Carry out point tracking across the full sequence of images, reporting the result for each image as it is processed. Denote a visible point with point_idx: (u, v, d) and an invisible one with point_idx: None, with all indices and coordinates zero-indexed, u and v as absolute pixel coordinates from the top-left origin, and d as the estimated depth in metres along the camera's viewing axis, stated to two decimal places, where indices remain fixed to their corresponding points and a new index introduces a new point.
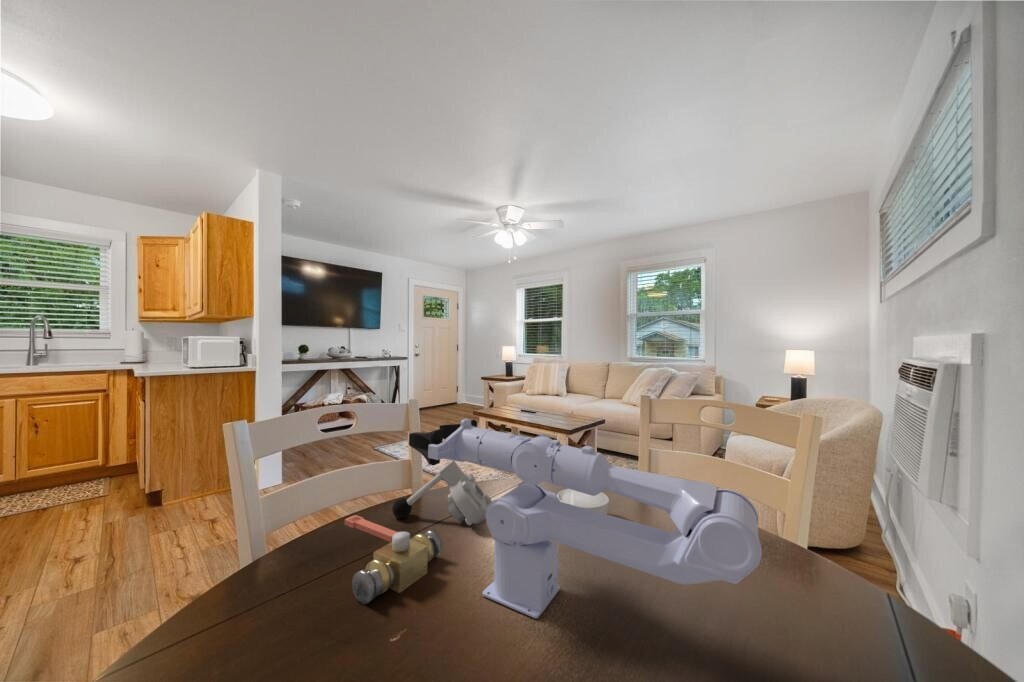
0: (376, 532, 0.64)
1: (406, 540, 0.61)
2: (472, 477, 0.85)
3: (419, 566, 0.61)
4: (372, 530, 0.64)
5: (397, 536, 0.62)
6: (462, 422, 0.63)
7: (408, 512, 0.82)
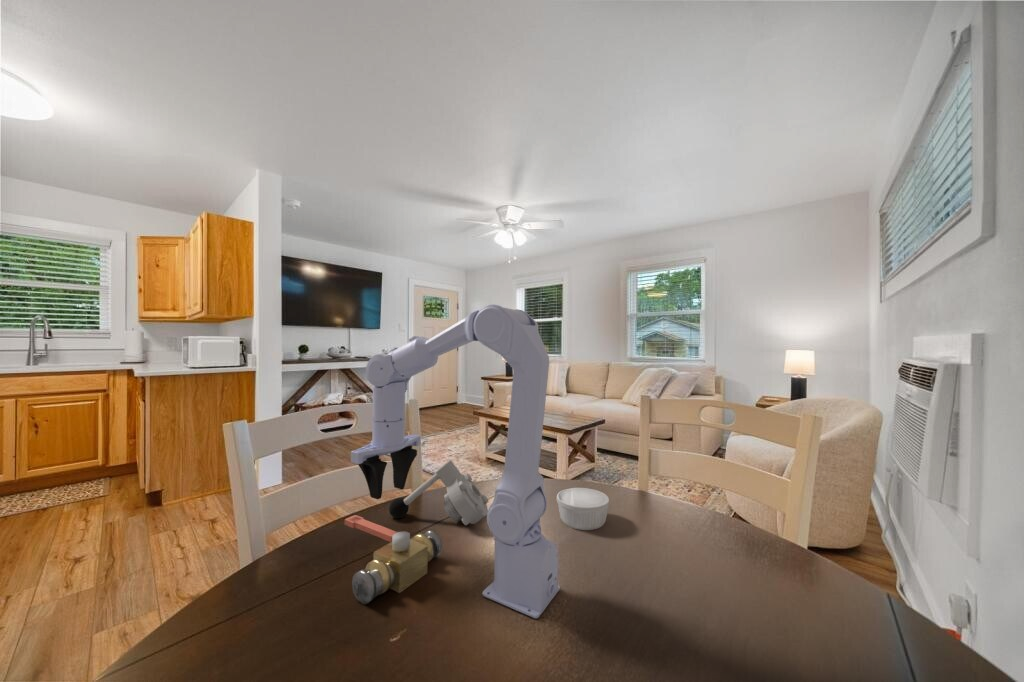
0: (376, 532, 0.64)
1: (406, 540, 0.61)
2: (469, 477, 0.85)
3: (419, 566, 0.61)
4: (372, 530, 0.64)
5: (397, 536, 0.62)
6: (371, 442, 0.71)
7: (405, 512, 0.82)
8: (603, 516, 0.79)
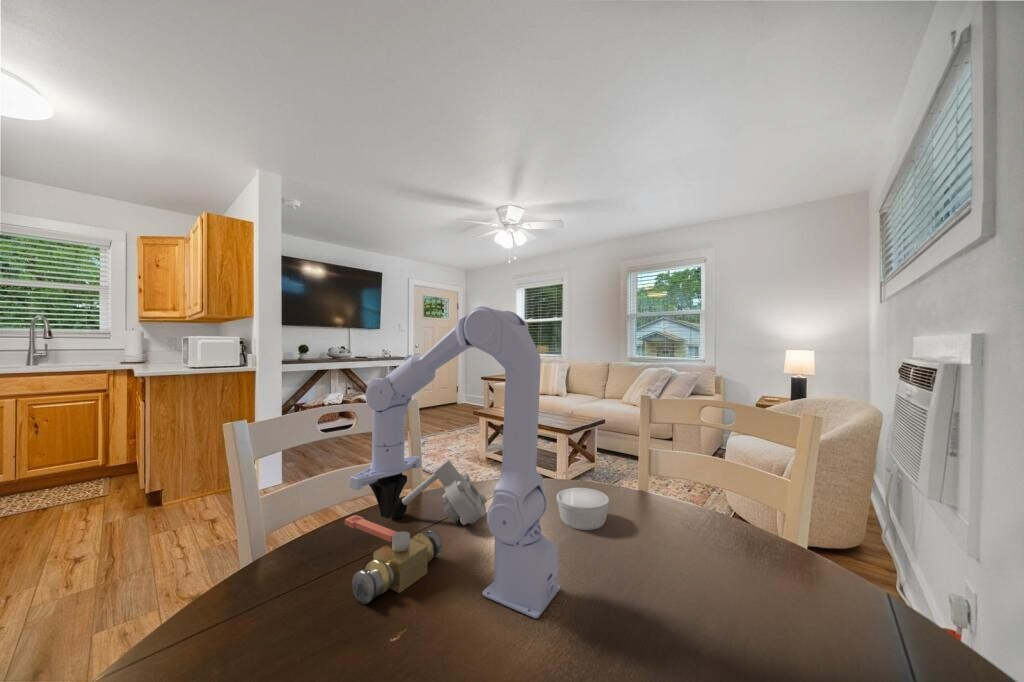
0: (376, 532, 0.64)
1: (406, 540, 0.61)
2: (467, 477, 0.85)
3: (419, 566, 0.61)
4: (372, 530, 0.64)
5: (397, 536, 0.62)
6: (370, 465, 0.71)
7: (403, 512, 0.82)
8: (603, 516, 0.79)
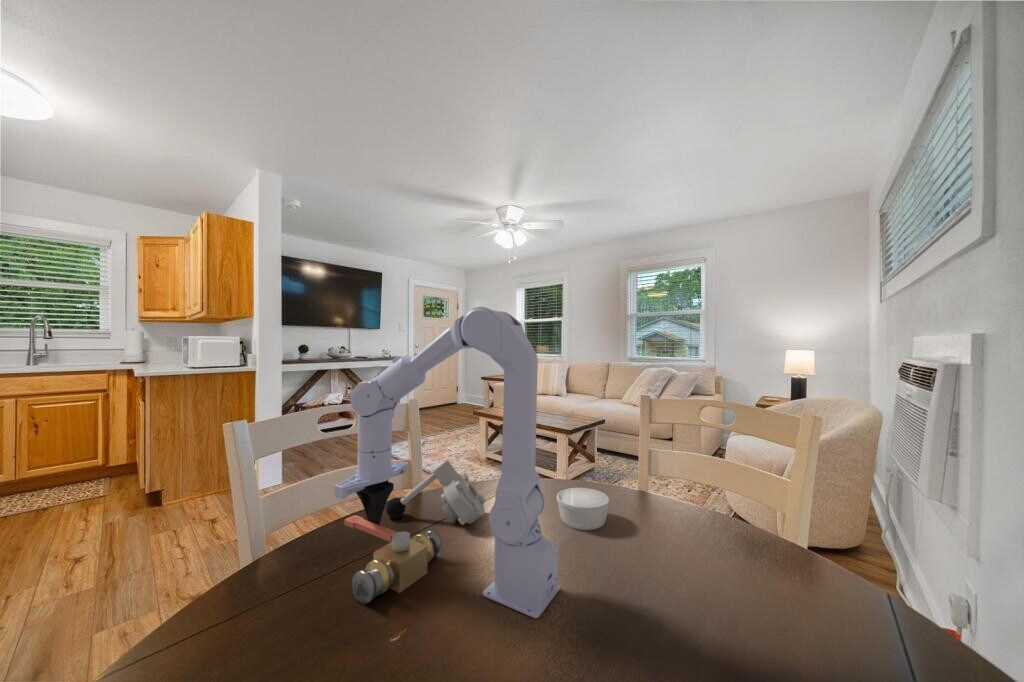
0: (376, 532, 0.64)
1: (406, 540, 0.61)
2: (466, 477, 0.85)
3: (419, 566, 0.61)
4: (372, 530, 0.64)
5: (397, 536, 0.62)
6: (356, 472, 0.68)
7: (402, 512, 0.82)
8: (603, 516, 0.79)
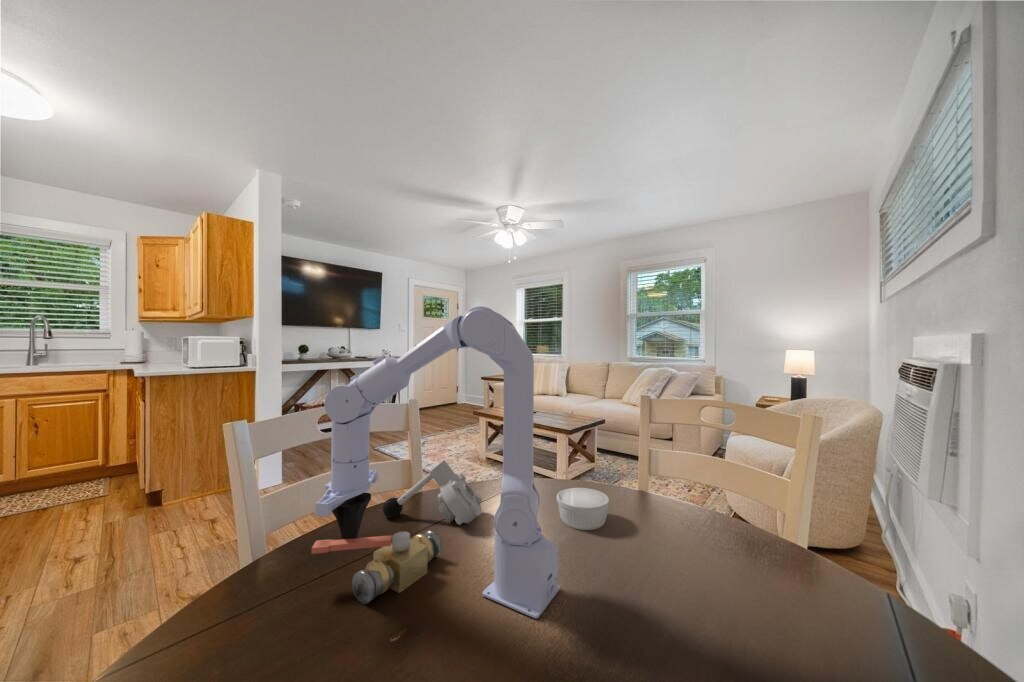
0: (368, 543, 0.60)
1: (409, 537, 0.62)
2: (463, 477, 0.85)
3: (419, 566, 0.61)
4: (360, 544, 0.60)
5: (398, 537, 0.61)
6: (325, 487, 0.61)
7: (399, 512, 0.82)
8: (603, 516, 0.79)
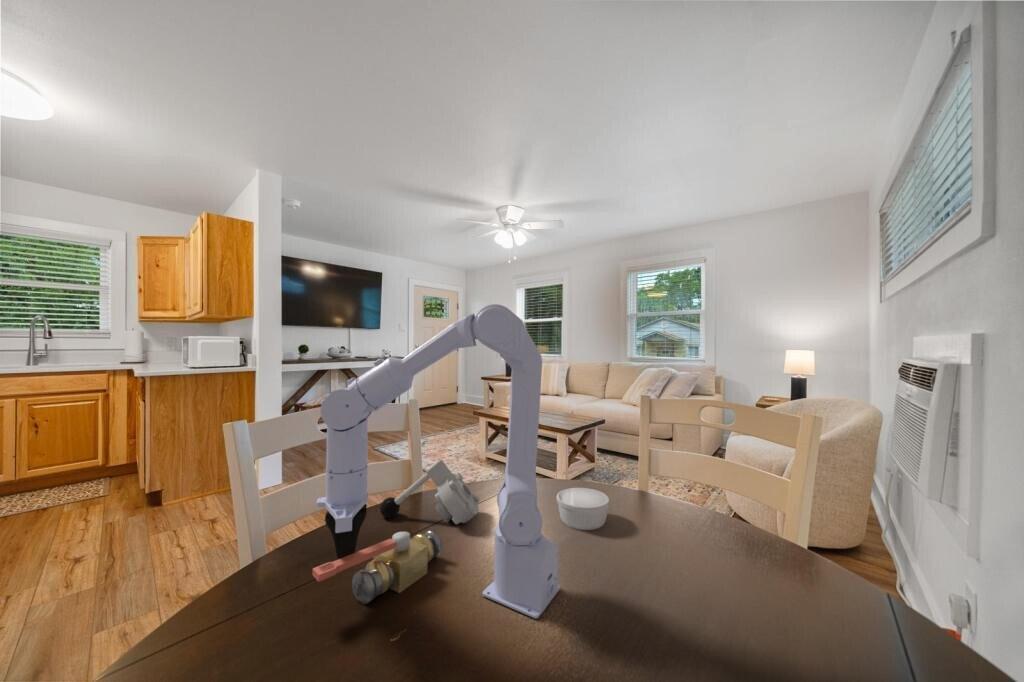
0: (375, 552, 0.58)
1: None
2: (460, 476, 0.85)
3: (419, 566, 0.61)
4: (367, 554, 0.57)
5: (401, 537, 0.61)
6: (318, 504, 0.55)
7: (396, 511, 0.82)
8: (603, 516, 0.79)
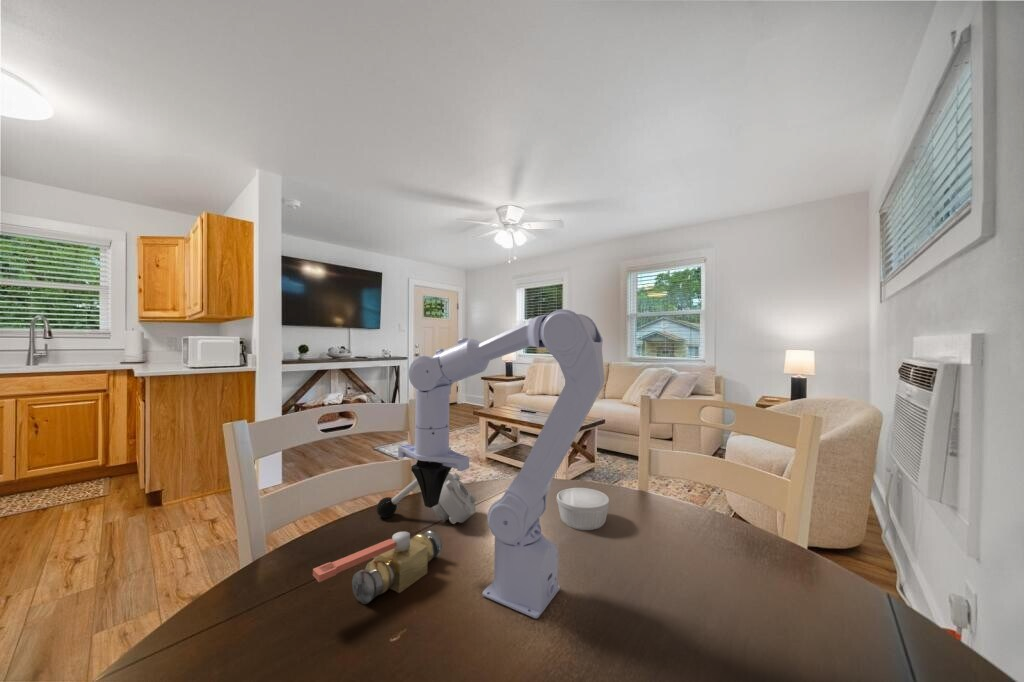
0: (375, 552, 0.58)
1: None
2: (457, 476, 0.86)
3: (419, 566, 0.61)
4: (368, 555, 0.57)
5: (401, 537, 0.61)
6: None
7: (393, 511, 0.83)
8: (603, 516, 0.79)
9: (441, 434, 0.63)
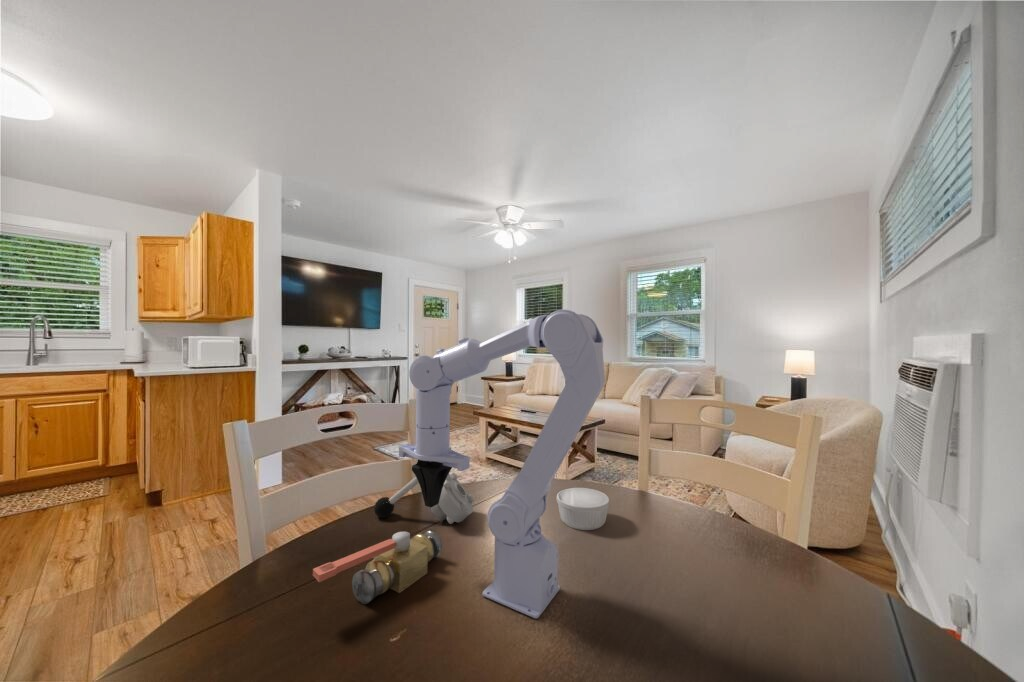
0: (375, 552, 0.58)
1: None
2: (454, 476, 0.86)
3: (419, 566, 0.61)
4: (368, 555, 0.57)
5: (401, 537, 0.61)
6: None
7: (390, 511, 0.83)
8: (603, 516, 0.79)
9: (442, 434, 0.63)
